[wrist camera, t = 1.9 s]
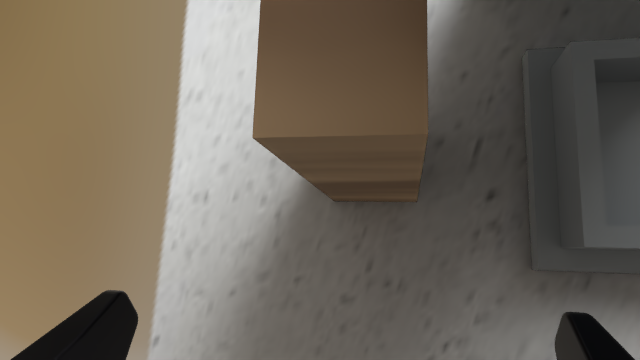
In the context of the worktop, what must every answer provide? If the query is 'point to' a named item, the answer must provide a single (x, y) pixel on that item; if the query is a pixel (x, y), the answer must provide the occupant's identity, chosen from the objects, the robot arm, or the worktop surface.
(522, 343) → the worktop surface
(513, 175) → the worktop surface
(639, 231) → the socket
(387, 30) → the peg
